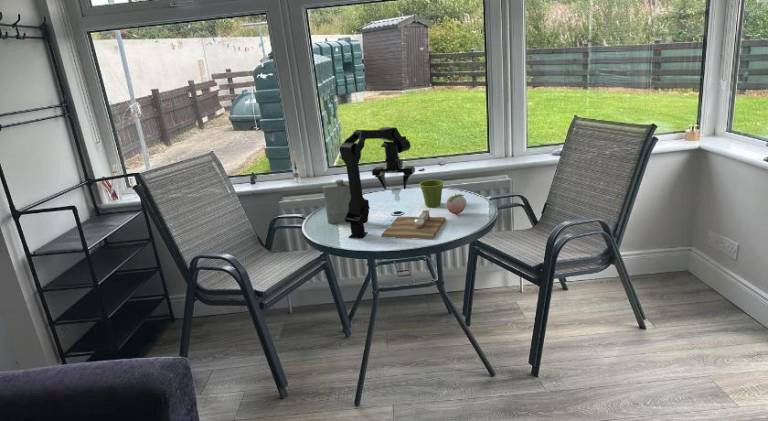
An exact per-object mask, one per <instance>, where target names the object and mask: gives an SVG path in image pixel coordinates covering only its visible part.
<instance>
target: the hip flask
mask: <svg viewBox="0 0 768 421" xmlns="http://www.w3.org/2000/svg"><path fill="white" fill-rule="evenodd" d="M322 190H323V197H324V199H323V200H324V205H325V211H326V218H327V224H330V225H331V224H341V223H342V224H344V223H345V224H347V223H348V222H346V221H345V216H346V214H347V212H348V210H349V202H350V199H351V194H350V187H349V183H344V179H341V178H340V179H336V180H335V184H331V185H330V184H329V185H324V186H322ZM355 218H357V217H355ZM358 219H359V218H358Z"/></svg>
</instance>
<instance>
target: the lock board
mask: <svg viewBox="0 0 768 421" xmlns="http://www.w3.org/2000/svg"><path fill="white" fill-rule="evenodd" d="M418 217H419V216H397V217H396V218H395V219H394V220H393V221H392V222H391V223H390V225H389V226H388V227H387V228H386V229H385V230H384V231H383V232H381V238H382V237H395V238H394V239H412V238H418V239H419V238H420V239H421V240H434V239H435V238H436V235H437V234H438V233H439V231H441V228H442V227H443V226H444V223H445V222H446V221H447V218H446V216H445V217H444V216H442V217H441V216H440V217H437V216H430V218H429V219H428V220H427V221H426V222H425V224H424V227H422V228H416V227H415V221H414V220H415V219H416V218H418ZM433 238H434V239H433ZM420 239H419V240H420Z"/></svg>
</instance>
